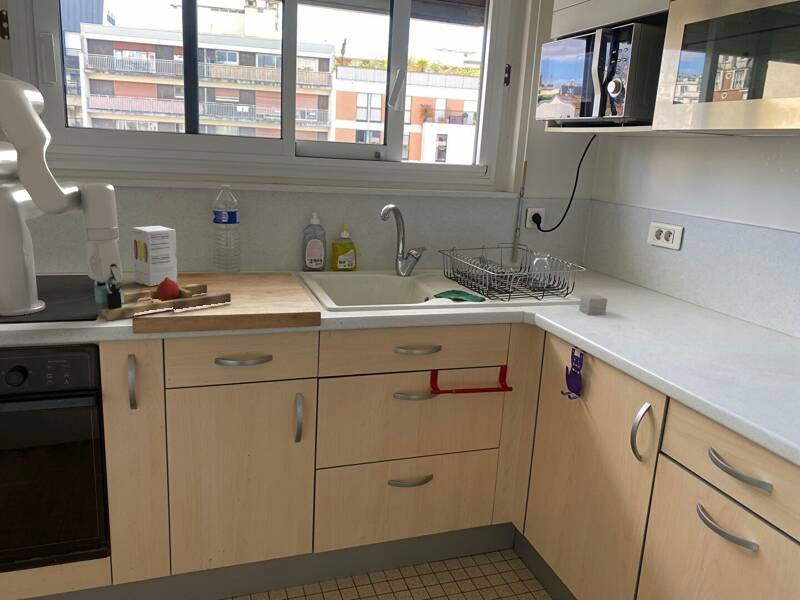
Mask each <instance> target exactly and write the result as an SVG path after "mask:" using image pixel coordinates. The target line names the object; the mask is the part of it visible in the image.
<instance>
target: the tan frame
mask: <svg viewBox="0 0 800 600" xmlns="http://www.w3.org/2000/svg"><path fill="white" fill-rule="evenodd" d="M110 286H112V284H110ZM177 286H178V285H177ZM179 286H180V285H179ZM179 286H178V288H179V291H180V294H179V297H178V299H175V300H168V301H162V302H155V303H153V302H148V303H142V304H137V305H129V306H122V307H121V308H117V309H111V310H110V309H108V303H107V294H108V290H107V286H106V285H103V286H95V285H94V286H93V287H94V297H95V298H94V301H95V303H94V304H95V312H96V313H95V314H96V315H98V316H100V317H102V318H103V319H105V320H107V321H115V320H121V319H127V318H131V317H132V318H133V316H134V314H135V313H139V312H144V311H149V310H157V309H164V308H172V307H173V301H177V300H183V299H190V298H193V297H192V292H191V291H189V290H186V289H184V288H181V287H179ZM134 317H135V316H134Z"/></svg>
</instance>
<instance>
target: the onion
mask: <svg viewBox="0 0 800 600" xmlns="http://www.w3.org/2000/svg"><path fill="white" fill-rule="evenodd" d="M156 290H157V297H158V298H159V300H161V301H168V300H175V299H178V297H179V294H180V291H179V288H178V283H175V282H173V281H172V280H170V278H169V277H165V280H164V281H162V282H161V283H160V284H159V285H158V286H156Z"/></svg>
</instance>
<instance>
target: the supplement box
mask: <svg viewBox="0 0 800 600" xmlns="http://www.w3.org/2000/svg"><path fill="white" fill-rule="evenodd" d="M176 236H177V233H176V229H174V228H170V227H166V226H162V225H149V226H136V227H135V226H133V227H132V243H133V244H132V245H133V246H132V247H133V265H134V267H133V268H134V282H136V283H138V284H140V285H143V284H142V283H145V284H148V285H156V284H160V283H161V282H162V281H164V280H165V277H169V278H170V280H172V281H173V282H177V283H178V266H177V265H178V264H177V263H178V261H177V237H176Z"/></svg>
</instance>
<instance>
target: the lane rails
mask: <svg viewBox="0 0 800 600" xmlns="http://www.w3.org/2000/svg"><path fill="white" fill-rule="evenodd" d="M181 288H184V289H186V290H189V291H191V292H192V295H194V294H201V293H207V294H208V284H206V283H200V284H197V285H193V286H185V287H181ZM150 291H151V298H152V299H159V298H158V297H157V289H156V290H150ZM231 297H232V295H231V293H230V292H226V293H225V292H224V293H218V294H210V295H202V296H196V297H192V298H190V299H183V300H177V301H173V309H175V310H176V309H183V308H189V307H196V306H203V305H211V304H218V303H225V302H231V303H232V298H231Z"/></svg>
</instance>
